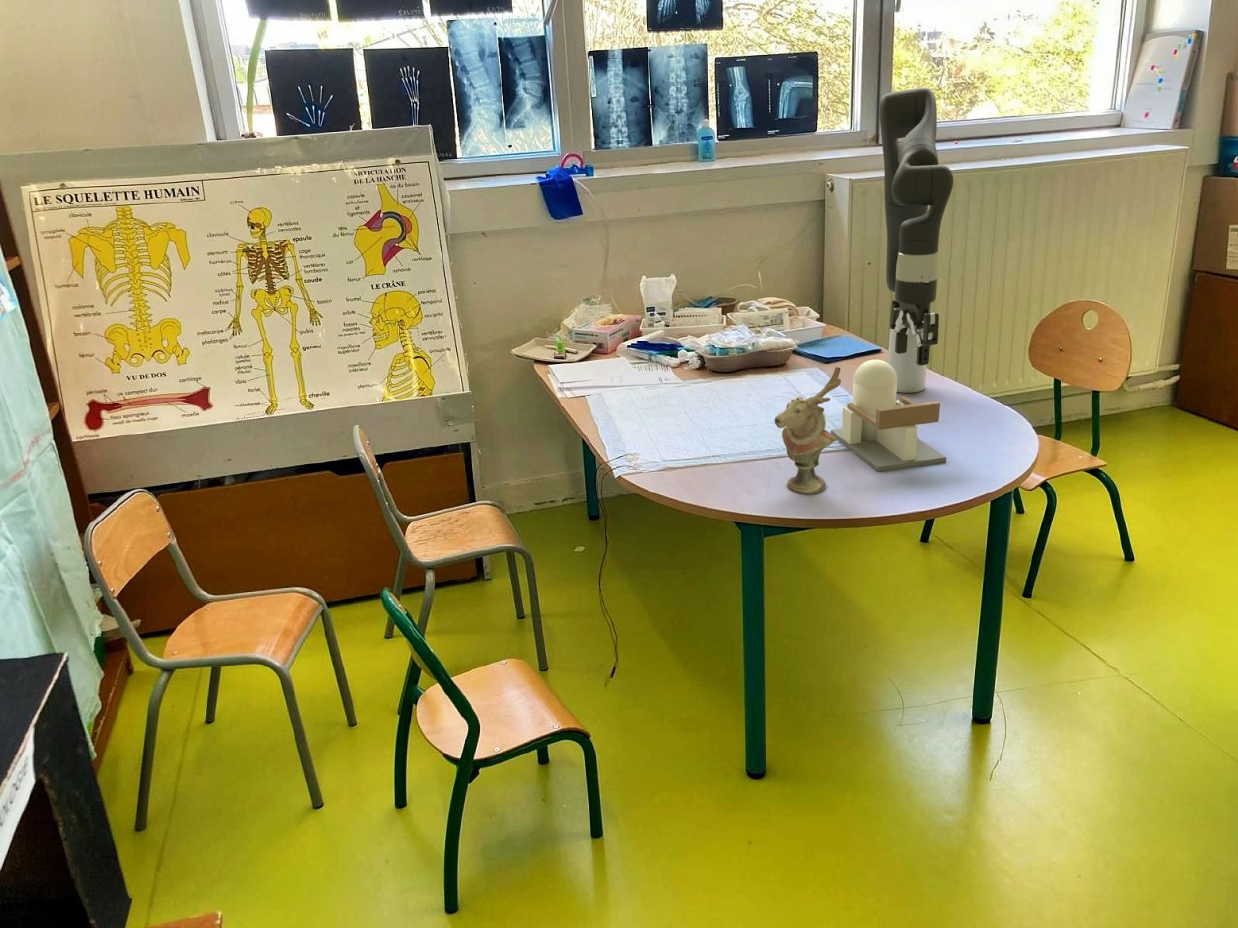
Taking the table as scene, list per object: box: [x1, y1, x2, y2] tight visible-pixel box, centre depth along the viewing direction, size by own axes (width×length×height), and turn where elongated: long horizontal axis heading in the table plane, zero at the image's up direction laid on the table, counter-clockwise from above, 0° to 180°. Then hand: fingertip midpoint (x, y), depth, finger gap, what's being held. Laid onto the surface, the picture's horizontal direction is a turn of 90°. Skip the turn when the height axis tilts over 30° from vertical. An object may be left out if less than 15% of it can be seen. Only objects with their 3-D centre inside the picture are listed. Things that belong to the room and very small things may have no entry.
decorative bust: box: [774, 366, 842, 495], centre depth 175 cm, size 11×13×25 cm
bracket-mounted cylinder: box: [830, 359, 947, 472], centre depth 194 cm, size 22×15×18 cm, turn 12°
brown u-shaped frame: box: [846, 395, 941, 430], centre depth 191 cm, size 14×13×4 cm
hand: (911, 358), depth 181 cm, fingers open, 8 cm apart
